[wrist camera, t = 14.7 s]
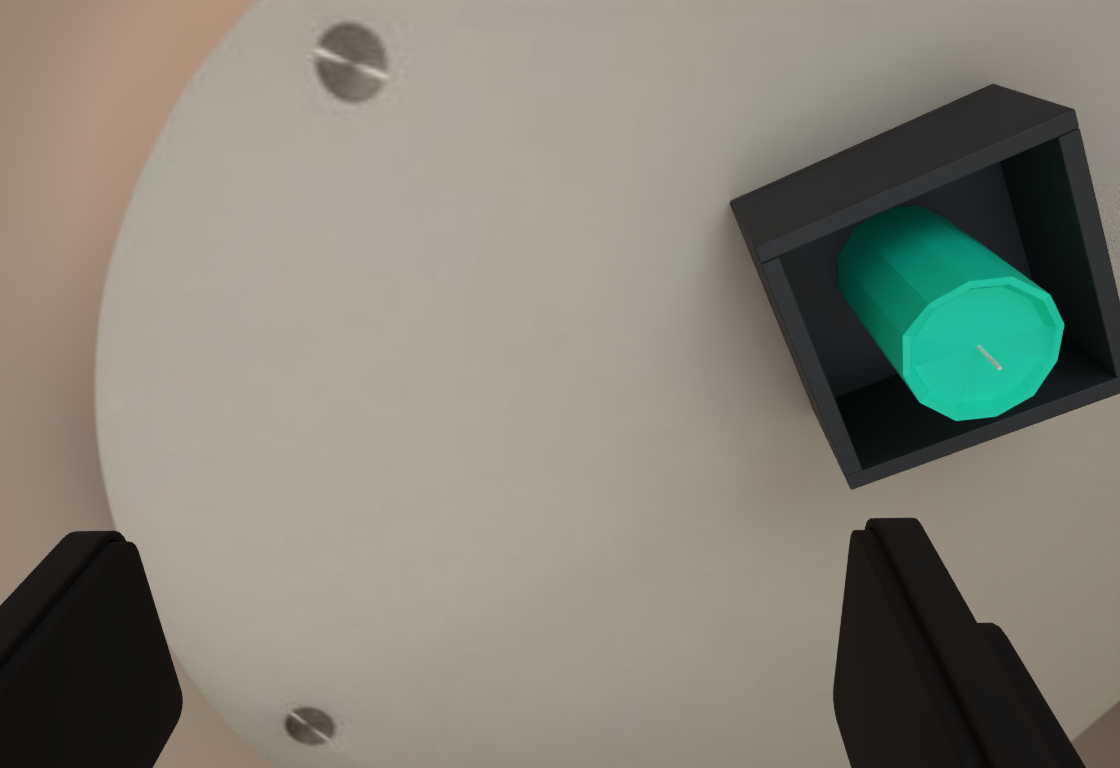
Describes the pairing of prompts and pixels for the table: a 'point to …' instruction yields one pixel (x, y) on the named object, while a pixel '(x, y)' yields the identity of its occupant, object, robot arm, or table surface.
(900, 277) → the candle
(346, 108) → the table surface
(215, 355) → the table surface
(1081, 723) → the table surface
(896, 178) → the bin
